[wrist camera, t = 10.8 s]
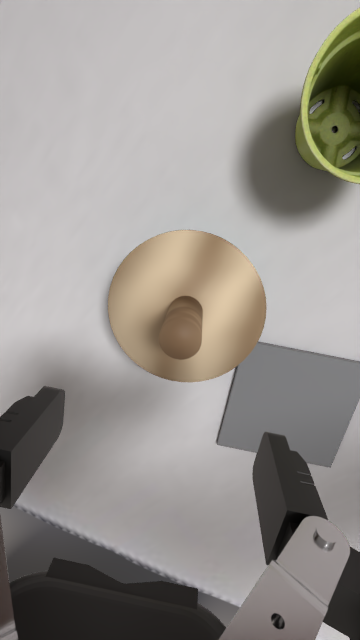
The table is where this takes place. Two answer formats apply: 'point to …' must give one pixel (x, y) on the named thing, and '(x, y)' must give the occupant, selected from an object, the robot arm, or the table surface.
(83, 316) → the table surface
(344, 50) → the plant pot
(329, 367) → the mat
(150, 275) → the lid
